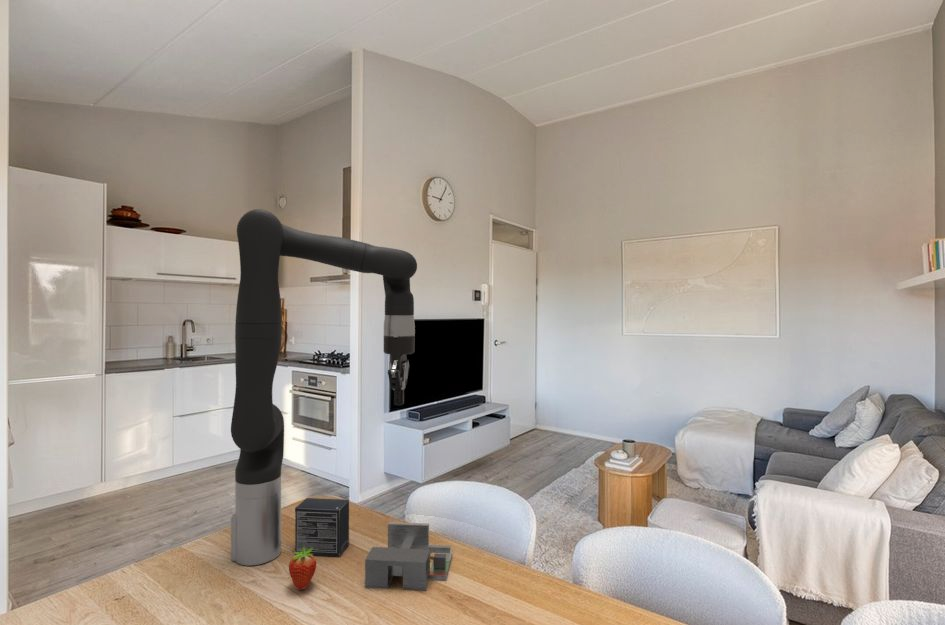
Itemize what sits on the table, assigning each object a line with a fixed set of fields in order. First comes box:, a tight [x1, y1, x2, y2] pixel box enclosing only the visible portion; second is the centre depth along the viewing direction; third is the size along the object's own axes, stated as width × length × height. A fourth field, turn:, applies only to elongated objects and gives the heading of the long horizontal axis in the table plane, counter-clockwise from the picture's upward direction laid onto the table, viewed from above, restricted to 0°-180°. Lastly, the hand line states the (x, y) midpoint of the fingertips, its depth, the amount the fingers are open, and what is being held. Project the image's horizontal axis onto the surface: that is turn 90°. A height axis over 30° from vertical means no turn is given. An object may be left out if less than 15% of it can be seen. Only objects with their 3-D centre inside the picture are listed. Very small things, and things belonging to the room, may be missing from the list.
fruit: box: [288, 546, 317, 591], centre depth 93 cm, size 5×5×8 cm
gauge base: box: [364, 546, 453, 592], centre depth 100 cm, size 16×14×6 cm
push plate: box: [387, 521, 452, 577], centre depth 100 cm, size 14×11×7 cm
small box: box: [294, 497, 350, 558], centre depth 108 cm, size 11×6×10 cm, turn 84°
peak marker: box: [433, 553, 446, 569], centre depth 99 cm, size 2×2×2 cm, turn 85°
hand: (398, 404), depth 117 cm, fingers closed
